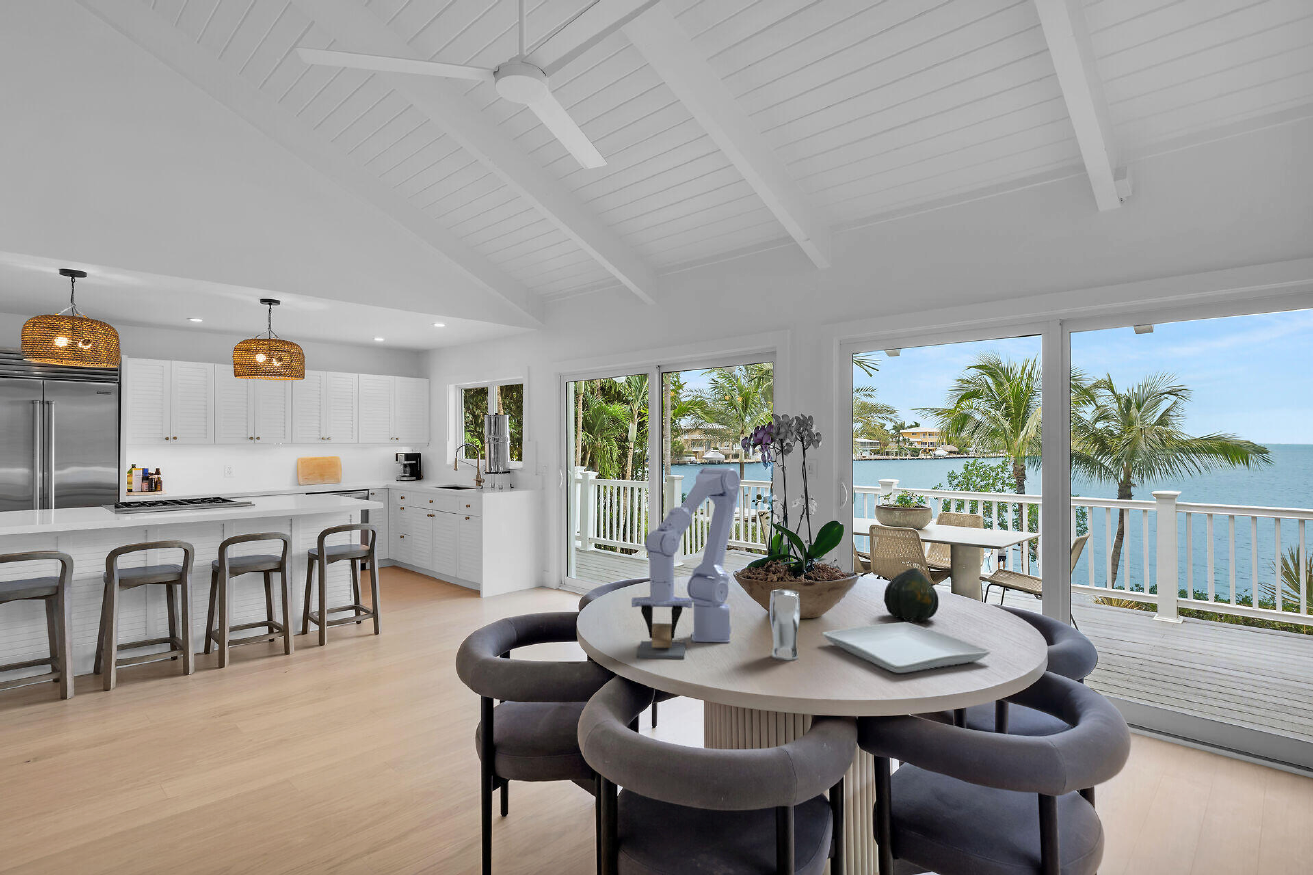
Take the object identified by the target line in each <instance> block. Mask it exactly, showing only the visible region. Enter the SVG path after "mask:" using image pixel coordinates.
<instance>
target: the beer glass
mask: <svg viewBox="0 0 1313 875" xmlns="http://www.w3.org/2000/svg"><path fill="white" fill-rule="evenodd" d="M769 598H770V599H769V619H770V624H771V625H770V626H771V631H772V638H773V647H772V651H771V652H772V653H771V656H772V658H773V659H774V660H778V661H788V662H789V661H796V660H798V658H799V653H798V648H797V639H798V638H797V637H798V631H799V624H800V617H801V607H800V606H801V605H800V604H801V603H800V602H801V601H800V592H798V591H797V590H793V589H792V590H791V589H774V590H771V591H770V597H769Z"/></svg>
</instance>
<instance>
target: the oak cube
mask: <svg viewBox="0 0 1313 875" xmlns="http://www.w3.org/2000/svg"><path fill="white" fill-rule="evenodd" d="M671 629H672V623H659V622H658V623H657V622H656V623H653V626H652V638H651V641H652V647H660V648H671V644H672V642H673V639H671Z"/></svg>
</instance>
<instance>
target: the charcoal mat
mask: <svg viewBox="0 0 1313 875" xmlns="http://www.w3.org/2000/svg"><path fill="white" fill-rule="evenodd" d="M685 653H686V641H672V644H671V648H660V647H652V640H650V641H649V640H641V641H640V644H639V647H638V650H637V654H636V659H663V660H664V659H665V660H666V659H667V660H668V659H669V660H685Z"/></svg>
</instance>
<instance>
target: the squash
mask: <svg viewBox="0 0 1313 875" xmlns="http://www.w3.org/2000/svg"><path fill="white" fill-rule="evenodd" d="M883 601H884V603H885V604H884V605H885V607H886V610H887V612H888V613H889V614H890V615H892V616H894V617H896V618H903V619H904V620H905V622H907V621H908V623H913V622H914V621H915V622H918V621H921V622H923V621H926V620H927V619H930V618H932V617H934V616H935V614H936V613H937V611H938V609H939V595H938V592H937V591H936V589H935V587H934V586H933V585H932V584H931V583H930V581H929V580H928V579H927V578H926V577H925V575H924V574H923V573H922V572H921V570H919V569H918V568H917V567H914V568H910V569H907V570H905V571H903V572H901V573H900V574H897V575H896V576H895V577H893V578H892V579H891V580H890V581H889V582H888V584H887V585H886V587H885V590H884V597H883ZM912 621H913V622H912Z"/></svg>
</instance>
